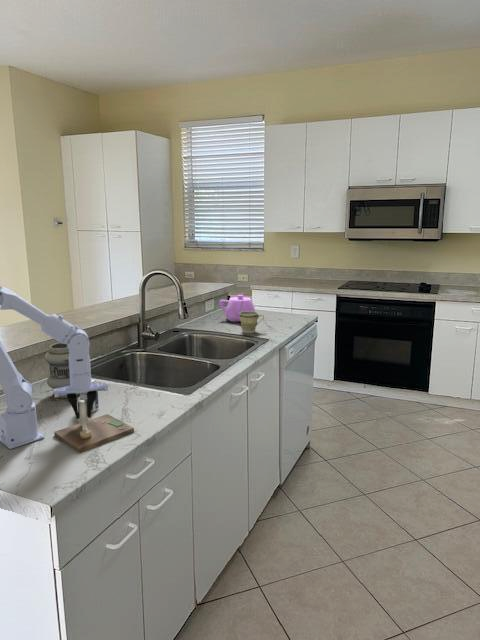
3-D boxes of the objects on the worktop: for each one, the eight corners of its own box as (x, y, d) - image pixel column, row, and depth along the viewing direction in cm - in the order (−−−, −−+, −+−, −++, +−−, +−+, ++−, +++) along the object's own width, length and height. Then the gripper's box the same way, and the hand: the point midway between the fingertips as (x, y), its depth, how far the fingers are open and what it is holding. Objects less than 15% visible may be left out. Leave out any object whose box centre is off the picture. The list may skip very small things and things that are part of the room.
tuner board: (79, 452, 126) (79, 447, 126) (54, 435, 136) (54, 431, 135) (134, 431, 138) (133, 427, 138) (107, 417, 148) (107, 413, 147)
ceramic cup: (238, 333, 251) (238, 314, 249) (240, 329, 261) (240, 311, 259) (263, 334, 250) (263, 315, 248) (264, 329, 260) (264, 311, 257)
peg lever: (92, 437, 131) (90, 413, 130) (80, 439, 130) (78, 415, 129) (88, 421, 141) (87, 399, 140) (78, 423, 140) (76, 400, 138)
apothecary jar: (51, 390, 170) (47, 340, 166) (86, 387, 173) (83, 339, 169) (45, 403, 159) (40, 350, 155) (83, 400, 161) (79, 348, 157)
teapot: (218, 317, 290) (218, 292, 287) (253, 317, 292) (253, 292, 288) (220, 326, 268) (220, 299, 265) (257, 325, 270) (258, 299, 266)
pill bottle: (92, 405, 157) (90, 376, 155) (102, 409, 154) (100, 380, 152) (77, 410, 153) (75, 381, 151) (87, 414, 150) (85, 384, 148)
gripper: (104, 365, 142) (107, 408, 145) (52, 370, 137) (56, 415, 140) (107, 372, 136) (110, 417, 139) (52, 378, 131) (56, 424, 133)
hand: (83, 416), depth 139 cm, fingers closed on peg lever, 3 cm apart
